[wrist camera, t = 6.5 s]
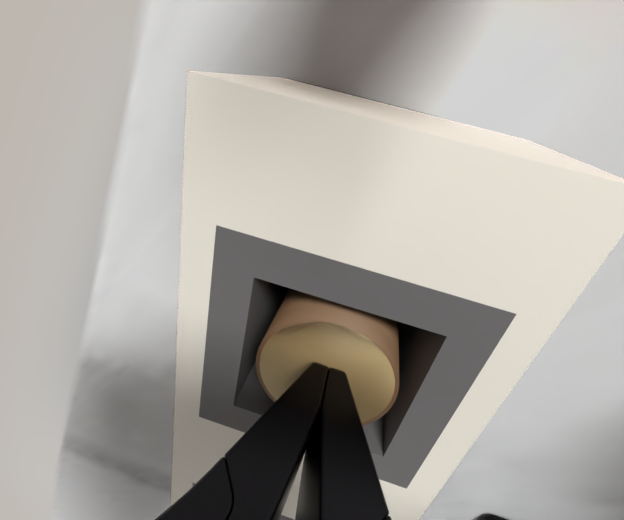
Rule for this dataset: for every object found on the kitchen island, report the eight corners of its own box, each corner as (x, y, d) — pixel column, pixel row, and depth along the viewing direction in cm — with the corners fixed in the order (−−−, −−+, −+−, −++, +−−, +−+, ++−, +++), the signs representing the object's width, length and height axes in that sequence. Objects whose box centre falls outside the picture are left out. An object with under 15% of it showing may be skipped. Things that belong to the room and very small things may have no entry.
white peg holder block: (344, 507, 21) (328, 646, 16) (221, 463, 22) (167, 583, 17) (527, 139, 11) (653, 191, 6) (282, 77, 11) (187, 70, 6)
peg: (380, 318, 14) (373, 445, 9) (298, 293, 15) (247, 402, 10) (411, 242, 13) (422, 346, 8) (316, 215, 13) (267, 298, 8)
